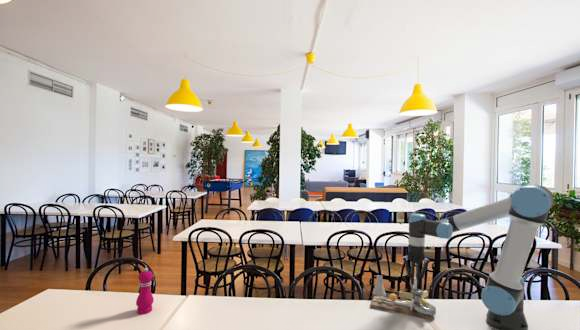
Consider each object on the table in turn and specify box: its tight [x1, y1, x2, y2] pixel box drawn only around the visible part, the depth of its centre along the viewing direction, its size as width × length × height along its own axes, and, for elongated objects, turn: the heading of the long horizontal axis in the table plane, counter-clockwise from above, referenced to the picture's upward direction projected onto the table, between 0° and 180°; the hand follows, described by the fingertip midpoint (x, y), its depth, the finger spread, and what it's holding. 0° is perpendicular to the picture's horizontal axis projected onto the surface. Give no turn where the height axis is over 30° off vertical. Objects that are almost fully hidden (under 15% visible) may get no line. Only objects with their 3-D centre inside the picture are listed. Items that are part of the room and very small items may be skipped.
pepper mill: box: [135, 267, 154, 315], centre depth 137 cm, size 7×7×20 cm
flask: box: [371, 274, 387, 297], centre depth 161 cm, size 7×7×10 cm
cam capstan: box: [398, 288, 437, 317], centre depth 144 cm, size 16×14×8 cm
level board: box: [370, 294, 432, 321], centre depth 146 cm, size 27×12×2 cm, turn 67°
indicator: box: [388, 293, 413, 310], centre depth 146 cm, size 11×8×5 cm
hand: (414, 291), depth 150 cm, fingers closed
